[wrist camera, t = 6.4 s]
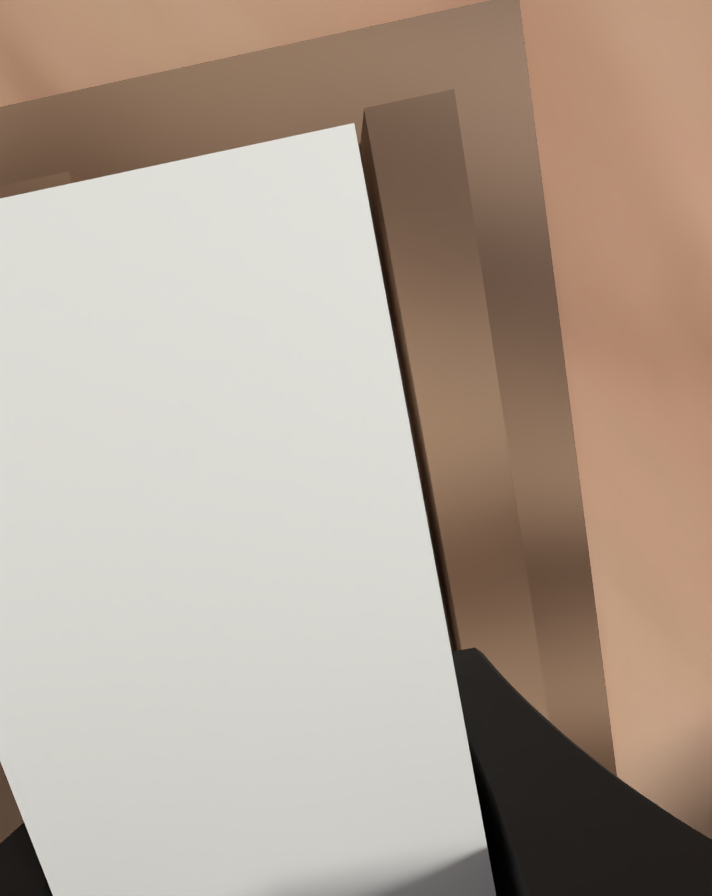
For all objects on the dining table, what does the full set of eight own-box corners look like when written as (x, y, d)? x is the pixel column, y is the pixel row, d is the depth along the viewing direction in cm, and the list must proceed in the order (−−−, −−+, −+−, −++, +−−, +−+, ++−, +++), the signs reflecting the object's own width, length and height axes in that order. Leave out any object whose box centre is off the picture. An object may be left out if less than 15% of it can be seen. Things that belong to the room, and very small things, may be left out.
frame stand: (625, 886, 18) (678, 1001, 15) (202, 962, 18) (175, 1087, 16) (512, 5, 13) (560, -78, 10) (-66, 130, 13) (-179, 86, 11)
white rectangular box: (468, 857, 15) (601, 1465, 7) (310, 885, 15) (277, 1513, 7) (347, 230, 12) (354, 123, 4) (145, 271, 12) (-235, 248, 4)
